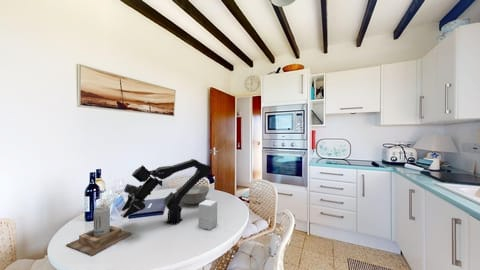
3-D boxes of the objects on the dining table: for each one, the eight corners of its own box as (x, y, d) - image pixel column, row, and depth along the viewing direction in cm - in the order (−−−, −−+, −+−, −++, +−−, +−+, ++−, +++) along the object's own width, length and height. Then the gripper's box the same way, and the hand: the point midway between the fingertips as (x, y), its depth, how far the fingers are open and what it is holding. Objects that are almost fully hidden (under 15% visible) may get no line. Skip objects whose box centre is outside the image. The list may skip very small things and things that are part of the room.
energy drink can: (90, 241, 86) (90, 208, 86) (100, 234, 92) (100, 203, 92) (103, 242, 86) (103, 208, 85) (112, 235, 92) (112, 203, 91)
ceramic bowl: (206, 209, 125) (206, 193, 125) (171, 208, 126) (171, 193, 125) (211, 197, 147) (211, 184, 147) (181, 197, 148) (181, 184, 148)
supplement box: (217, 224, 104) (217, 201, 104) (209, 230, 98) (210, 205, 98) (206, 221, 108) (206, 199, 107) (198, 227, 101) (198, 203, 101)
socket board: (132, 234, 93) (132, 227, 93) (92, 256, 77) (92, 247, 77) (108, 227, 100) (108, 220, 100) (66, 245, 84) (66, 237, 84)
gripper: (133, 174, 104) (108, 199, 98) (137, 182, 89) (108, 211, 82) (148, 187, 108) (126, 211, 102) (155, 196, 93) (129, 224, 87)
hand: (122, 213), depth 93 cm, fingers open, 9 cm apart
